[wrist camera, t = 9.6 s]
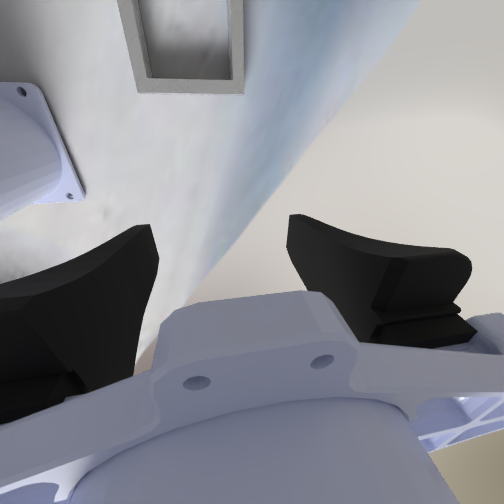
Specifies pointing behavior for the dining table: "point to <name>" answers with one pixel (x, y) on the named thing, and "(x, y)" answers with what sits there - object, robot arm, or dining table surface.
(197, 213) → the dining table surface
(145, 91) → the zinc tray
